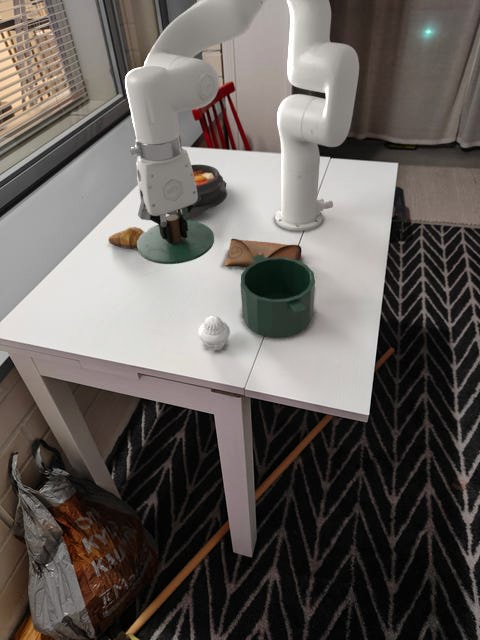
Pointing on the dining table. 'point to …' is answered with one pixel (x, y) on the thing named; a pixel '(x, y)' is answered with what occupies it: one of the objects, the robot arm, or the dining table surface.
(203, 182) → the casserole
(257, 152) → the dining table surface
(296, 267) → the pot
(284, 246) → the sunglasses case
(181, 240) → the lid
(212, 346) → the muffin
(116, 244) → the croissant
